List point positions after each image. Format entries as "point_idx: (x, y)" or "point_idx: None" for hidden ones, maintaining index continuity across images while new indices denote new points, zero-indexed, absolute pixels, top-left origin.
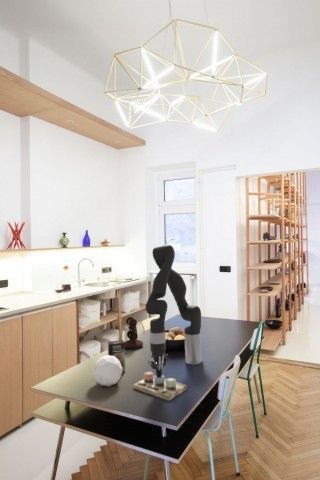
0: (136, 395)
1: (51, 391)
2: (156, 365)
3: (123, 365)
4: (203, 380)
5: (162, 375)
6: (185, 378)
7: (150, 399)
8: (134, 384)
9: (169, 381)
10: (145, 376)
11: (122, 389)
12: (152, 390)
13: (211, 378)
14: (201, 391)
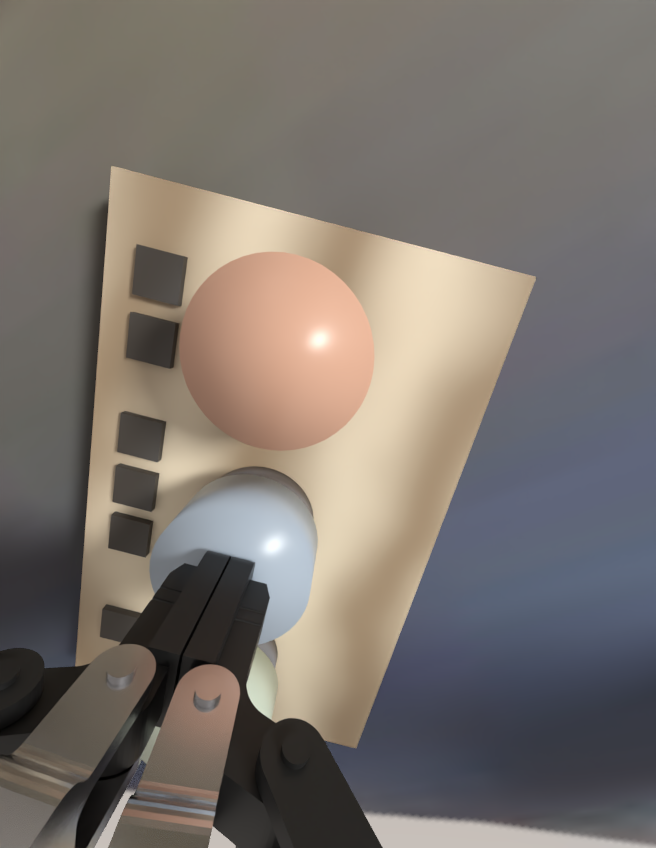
0: (21, 330)
1: None
2: (81, 755)
3: None
4: (591, 779)
5: (294, 604)
6: (610, 637)
7: (35, 503)
8: (113, 190)
9: (155, 738)
10: (190, 336)
11: (44, 38)
12: (93, 503)
13: (653, 823)
14: (363, 801)
